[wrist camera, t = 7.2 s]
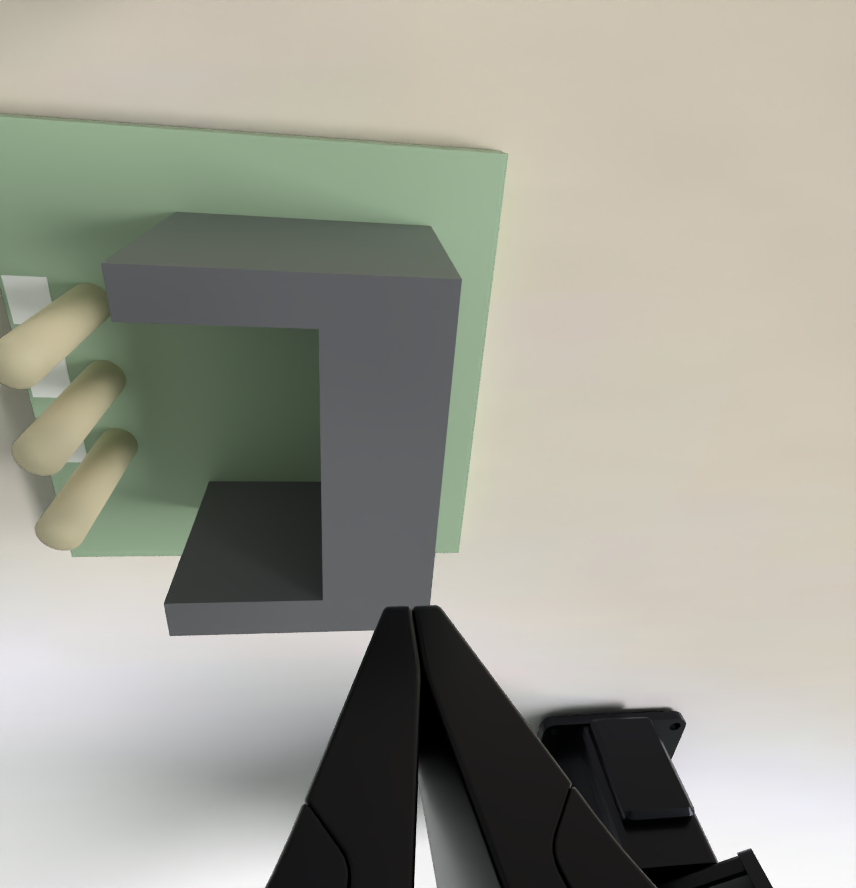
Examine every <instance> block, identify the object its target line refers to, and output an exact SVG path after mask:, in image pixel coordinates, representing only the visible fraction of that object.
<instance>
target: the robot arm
mask: <svg viewBox="0 0 856 888" xmlns="http://www.w3.org/2000/svg"><path fill="white" fill-rule="evenodd" d="M685 726H686V722H685V720H684V718H683V717H682V715H681V713H679V712H677V711H668V712H647V713H625V714H604V715H582V716H560V717H550V718H547V719H545V720H544V721H543V722H542V723H541V725H540V729H539V733H538V737H537V736H536V734H535V733H534V732H533V730H532V729H531V728H530V726H529V725H528V724H527V722H526V721H525V720H524V718H523V717H522V716H521V714H520V713H519V712H518V710H517V709H516V707H515V706H514V705H513V703H512V702H511V701H510V699H509V698H508V697H507V695H506V694H505V693H504V691H503V690H502V689H501V687H500V686H499V685H498V683H497V682H496V681H495V679H494V678H493V677H492V675H491V674H490V673H489V671H488V670H487V669H486V667H485V666H484V665H483V663H482V662H481V661H480V659H479V658H478V657H477V655H476V654H475V653H474V651H473V650H472V649H471V647H470V646H469V645H468V643H467V642H466V641H465V639H464V638H463V637H462V635H461V634H460V633H459V631H458V630H457V628H456V627H455V626H454V624H453V623H452V622H451V620H450V619H449V618H448V616H447V615H446V614H445V612H444V611H443V610H442V609H441V608H440V607H439V606H437V605H428V606H415V607H414V608H413V609H411V608H410V607H409V606H388V607H386V608H385V609H384V610H383V612H382V614H381V617H380V619H379V621H378V624H377V626H376V629H375V631H374V634H373V636H372V638H371V641H370V643H369V646H368V648H367V650H366V653H365V655H364V658H363V660H362V663H361V665H360V667H359V670H358V672H357V675H356V677H355V679H354V682H353V684H352V687H351V689H350V692H349V694H348V696H347V699H346V701H345V704H344V706H343V708H342V711H341V713H340V716H339V718H338V721H337V723H336V725H335V728H334V730H333V733H332V735H331V737H330V740H329V742H328V745H327V747H326V750H325V752H324V754H323V757H322V759H321V762H320V764H319V766H318V769H317V771H316V774H315V776H314V779H313V781H312V783H311V786H310V788H309V791H308V793H307V795H306V798H305V804H304V805H302V807H301V809H300V811H299V814H298V816H297V819H296V821H295V823H294V826H293V828H292V831H291V833H290V835H289V837H288V840H287V842H286V844H285V846H284V849H283V851H282V853H281V855H280V857H279V860H278V862H277V864H276V866H275V868H274V871H273V873H272V875H271V877H270V879H269V881H268V883H267V885H266V887H265V888H414V874H415V848H416V822H417V796H418V781H419V787H420V792H421V798H422V804H423V810H424V815H425V821H426V827H427V833H428V838H429V844H430V850H431V855H432V861H433V867H434V873H435V878H436V884H437V888H773V887H772V885H771V884H770V882H769V880H768V878H767V876H766V874H765V873H764V871H763V869H762V867H761V865H760V864H759V862H758V860H757V858H756V856H755V855H754V853H753V851H752V849H751V848H750V849H747V850H744V851H741V852H738V853H737V854H738V856H736V857H733V858H730V859H727V860H724V861H722V862H719V863H718V861H717V859H716V857H715V854H714V852H713V850H712V848H711V846H710V844H709V842H708V840H707V838H706V835H705V833H704V831H703V829H702V827H701V825H700V823H699V821H698V819H697V816H696V814H695V811H694V807H693V805H692V803H691V801H690V799H689V797H688V794H687V792H686V790H685V788H684V786H683V784H682V782H681V780H680V778H679V776H678V773H677V771H676V769H675V767H674V765H673V763H672V761H671V759H672V757H673V754H674V752H675V750H676V747H677V745H678V743H679V740H680V738H681V736H682V733H683V731H684V729H685Z"/></svg>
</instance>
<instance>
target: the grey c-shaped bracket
mask: <svg viewBox="0 0 856 888" xmlns="http://www.w3.org/2000/svg"><path fill="white" fill-rule="evenodd" d="M101 267H102V273H103V278H104V283H105V289H106V294H107V300H108V305H109V310H110V316H111V321H112V322H123V323H153V324H182V325H212V326H242V327H271V328H301V329H319V378H320V444H321V482H266V481H209V483H208V485H207V488H206V491H205V494H204V496H203V499H202V502H201V504H200V507H199V510H198V513H197V515H196V518H195V521H194V523H193V526H192V529H191V531H190V534H189V537H188V540H187V542H186V545H185V548H184V550H183V553H182V556H181V559H180V561H179V564H178V567H177V569H176V572H175V575H174V578H173V580H172V583H171V586H170V588H169V591H168V594H167V597H166V599H165V602H164V607H165V613H166V618H167V624H168V629H169V634H170V636H185V635H221V634H257V633H293V632H329V631H365V630H375V629H376V626H377V624H378V621H379V619H380V617H381V614H382V612H383V610H384V609H385V608H386V607H388V606H409V607H410V608H411V609H413V608H414V607H415V606H428V605H430V598H431V588H432V578H433V568H434V558H435V548H436V538H437V528H438V518H439V508H440V497H441V487H442V477H443V467H444V457H445V447H446V437H447V427H448V417H449V406H450V396H451V386H452V376H453V366H454V356H455V346H456V336H457V326H458V315H459V305H460V295H461V285H462V278H461V277H460V275H459V273H458V272H457V270H456V268H455V266H454V265H453V263H452V261H451V260H450V258H449V256H448V254H447V253H446V251H445V249H444V248H443V246H442V244H441V242H440V241H439V239H438V237H437V235H436V234H435V232H434V230H433V229H432V227H431V226H423V225H405V224H388V223H370V222H352V221H334V220H316V219H298V218H281V217H263V216H245V215H227V214H209V213H192V212H175V213H174V214H172V215H171V216H169V217H168V218H166V219H165V220H163V221H162V222H160V223H159V224H157V225H156V226H154V227H153V228H152V229H150V230H149V231H147V232H146V233H144V234H143V235H141V236H140V237H138V238H137V239H135V240H134V241H132V242H131V243H129V244H128V245H127V246H125V247H124V248H122V249H121V250H119V251H118V252H116V253H115V254H113V255H112V256H110V257H109V258H107V259H106V260H104V261H103V262H101Z"/></svg>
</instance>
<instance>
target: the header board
mask: <svg viewBox="0 0 856 888" xmlns="http://www.w3.org/2000/svg"><path fill="white" fill-rule="evenodd" d="M507 159H508V154H507V153H504V152H502V151H498V150H484V149H471V148H457V147H444V146H431V145H417V144H404V143H390V142H377V141H364V140H350V139H337V138H323V137H310V136H297V135H283V134H270V133H256V132H243V131H230V130H216V129H203V128H189V127H176V126H163V125H149V124H136V123H122V122H109V121H96V120H82V119H69V118H55V117H42V116H29V115H15V114H2V113H0V289H1V293H2V296H3V300H4V304H5V308H6V311H7V315H8V319H9V322H10V326H11V330H12V331H10V332H9V333H7V334H6V335H4V336H3V337H2V338H0V383H2V384H4V385H6V386H8V387H11V388H15V389H27V390H28V394H29V397H30V401H31V405H32V408H33V412H34V416H35V421H34V422H33V423H32V424H31V425H30V426H29V427H28V428H27V429H26V430H25V431H24V432H23V433H22V434H21V435H20V436H19V437H18V438H17V440H16V441H15V442H14V444H13V446H12V455H13V458H14V460H15V461H16V463H17V464H18V465H19V466H20V467H21V468H23V469H24V470H26V471H27V472H30V473H32V474H35V475H40V476H48V475H50V476H51V480H52V483H53V487H54V491H55V495H56V497H55V498H54V500H53V501H52V502H51V504H50V505H49V507H48V508H47V509H46V511H45V512H44V513H43V515H42V516H41V517H40V519H39V520H38V522H37V523H36V526H35V532H36V535H37V537H38V538H39V540H40V541H41V542H42V543H44V544H45V545H47V546H48V547H51V548H53V549H57V550H70V551H71V554H72V557H102V556H182V553H183V550H184V548H185V545H186V542H187V540H188V537H189V534H190V531H191V529H192V526H193V523H194V521H195V518H196V515H197V513H198V510H199V507H200V504H201V502H202V499H203V496H204V494H205V491H206V488H207V485H208V483H209V481H266V482H321V444H320V378H319V329H301V328H271V327H242V326H212V325H182V324H153V323H123V322H112V321H111V316H110V310H109V305H108V300H107V294H106V289H105V283H104V278H103V273H102V267H101V262H103V261H104V260H106V259H107V258H109V257H110V256H112V255H113V254H115V253H116V252H118V251H119V250H121V249H122V248H124V247H125V246H127V245H128V244H129V243H131V242H132V241H134V240H135V239H137V238H138V237H140V236H141V235H143V234H144V233H146V232H147V231H149V230H150V229H152V228H153V227H154V226H156V225H157V224H159V223H160V222H162V221H163V220H165V219H166V218H168V217H169V216H171V215H172V214H174V213H175V212H192V213H209V214H227V215H245V216H263V217H281V218H298V219H316V220H334V221H352V222H370V223H388V224H405V225H423V226H431V227H432V229H433V230H434V232H435V234H436V235H437V237H438V239H439V241H440V242H441V244H442V246H443V248H444V249H445V251H446V253H447V254H448V256H449V258H450V260H451V261H452V263H453V265H454V266H455V268H456V270H457V272H458V273H459V275H460V277H461V278H462V285H461V295H460V305H459V315H458V326H457V336H456V346H455V356H454V366H453V376H452V386H451V396H450V406H449V417H448V427H447V437H446V447H445V457H444V467H443V477H442V487H441V497H440V508H439V518H438V528H437V538H436V548H435V553H458V552H459V544H460V536H461V528H462V520H463V512H464V504H465V496H466V488H467V480H468V472H469V464H470V456H471V448H472V440H473V432H474V424H475V416H476V408H477V400H478V392H479V384H480V376H481V368H482V360H483V352H484V344H485V336H486V328H487V320H488V312H489V304H490V296H491V287H492V279H493V271H494V263H495V255H496V247H497V239H498V231H499V223H500V215H501V207H502V199H503V191H504V183H505V175H506V167H507Z"/></svg>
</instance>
